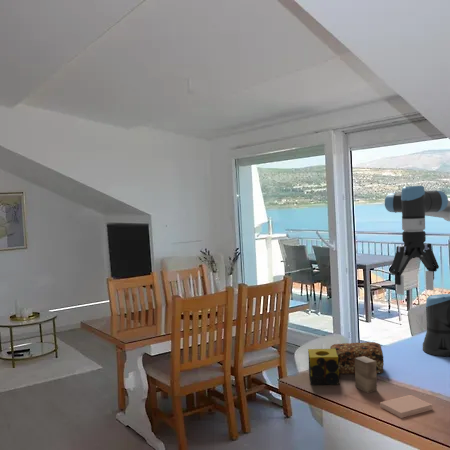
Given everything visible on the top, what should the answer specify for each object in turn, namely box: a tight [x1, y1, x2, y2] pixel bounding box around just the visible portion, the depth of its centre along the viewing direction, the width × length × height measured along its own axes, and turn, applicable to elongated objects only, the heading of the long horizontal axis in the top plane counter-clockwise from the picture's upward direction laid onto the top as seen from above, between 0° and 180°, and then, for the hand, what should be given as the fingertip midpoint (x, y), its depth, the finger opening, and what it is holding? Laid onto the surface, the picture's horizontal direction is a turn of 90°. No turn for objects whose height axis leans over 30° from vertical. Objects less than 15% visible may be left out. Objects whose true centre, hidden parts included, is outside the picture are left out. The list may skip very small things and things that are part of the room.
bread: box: [329, 341, 384, 375], centre depth 189 cm, size 19×11×10 cm, turn 80°
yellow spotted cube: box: [307, 348, 340, 386], centre depth 180 cm, size 10×10×10 cm
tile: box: [379, 394, 433, 419], centre depth 153 cm, size 12×2×9 cm
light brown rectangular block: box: [354, 356, 378, 394], centre depth 170 cm, size 4×6×10 cm, turn 24°
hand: (415, 291), depth 176 cm, fingers open, 13 cm apart
